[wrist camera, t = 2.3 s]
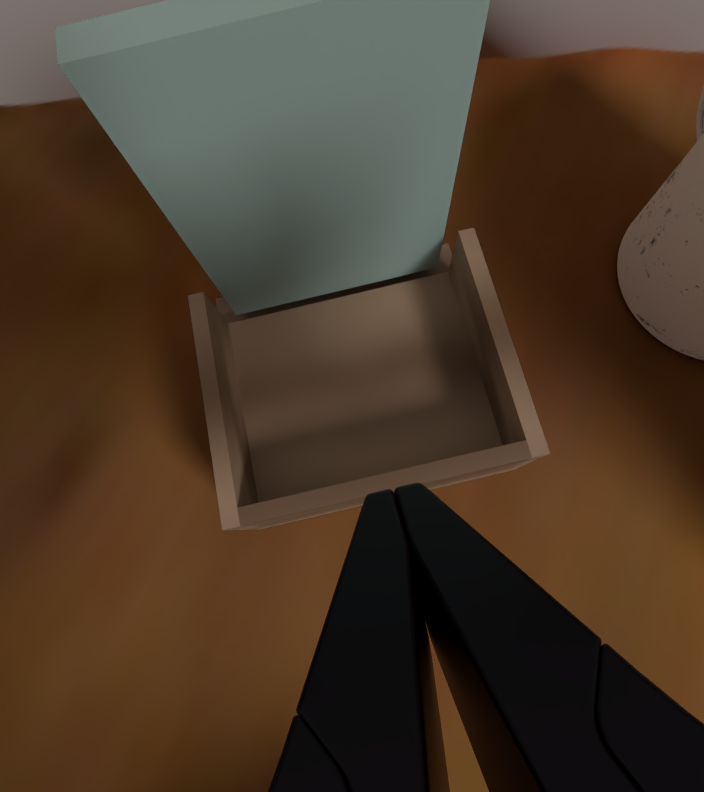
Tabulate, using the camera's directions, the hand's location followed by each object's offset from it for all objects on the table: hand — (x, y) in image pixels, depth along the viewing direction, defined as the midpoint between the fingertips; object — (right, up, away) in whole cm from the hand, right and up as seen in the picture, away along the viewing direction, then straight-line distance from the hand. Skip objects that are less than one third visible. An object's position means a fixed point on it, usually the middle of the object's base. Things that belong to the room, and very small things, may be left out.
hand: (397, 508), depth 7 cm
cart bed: (0, +2, +15) cm, 15 cm away
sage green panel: (-2, +7, +14) cm, 16 cm away
